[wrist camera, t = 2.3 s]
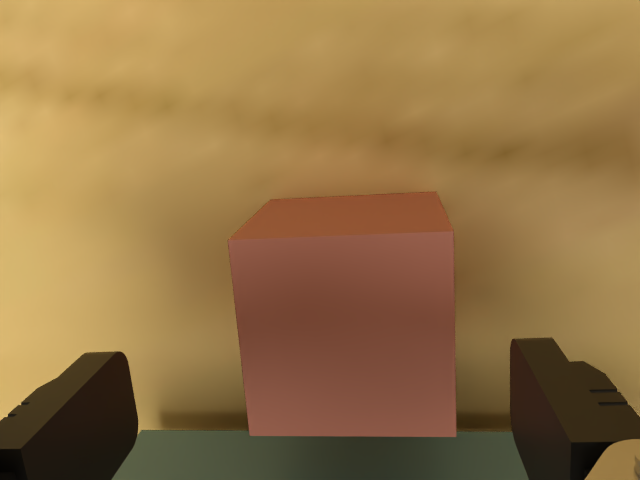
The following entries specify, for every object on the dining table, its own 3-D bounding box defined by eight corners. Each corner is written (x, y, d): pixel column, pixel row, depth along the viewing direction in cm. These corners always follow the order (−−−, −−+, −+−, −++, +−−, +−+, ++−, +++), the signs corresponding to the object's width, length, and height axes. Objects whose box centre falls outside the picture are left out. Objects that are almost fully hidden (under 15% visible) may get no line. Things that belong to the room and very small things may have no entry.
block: (436, 191, 17) (454, 231, 13) (439, 346, 19) (456, 437, 14) (271, 199, 18) (227, 240, 13) (284, 348, 19) (249, 435, 14)
